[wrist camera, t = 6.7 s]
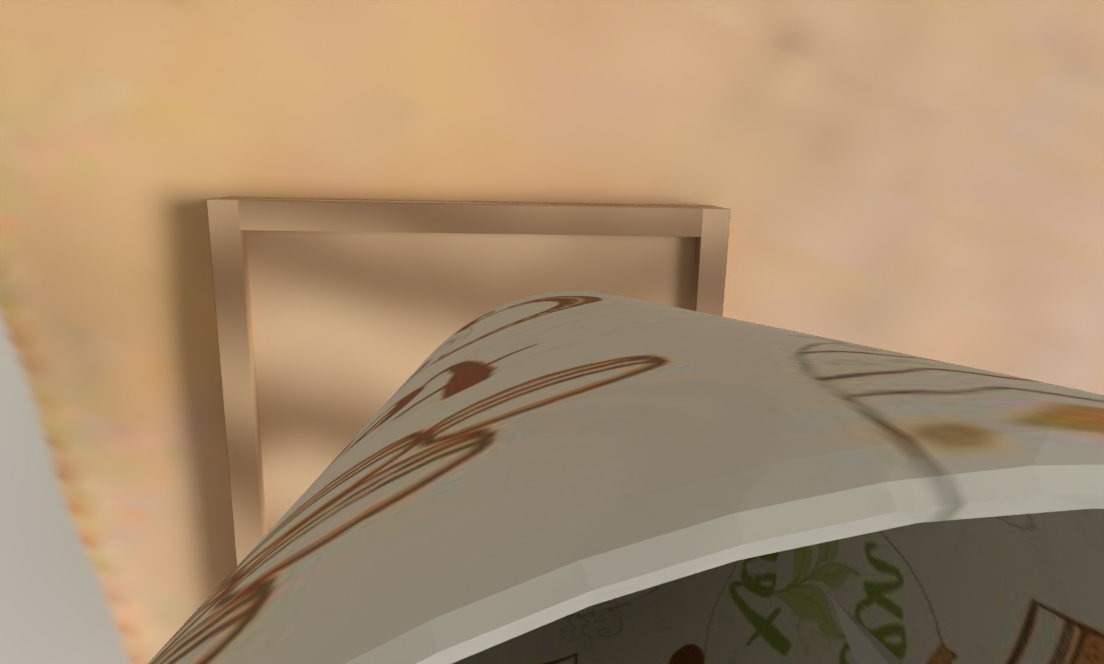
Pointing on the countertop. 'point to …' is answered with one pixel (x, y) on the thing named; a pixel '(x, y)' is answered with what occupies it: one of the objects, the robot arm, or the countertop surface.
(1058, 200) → the countertop surface
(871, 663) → the robot arm
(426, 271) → the wooden tray
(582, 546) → the mug
